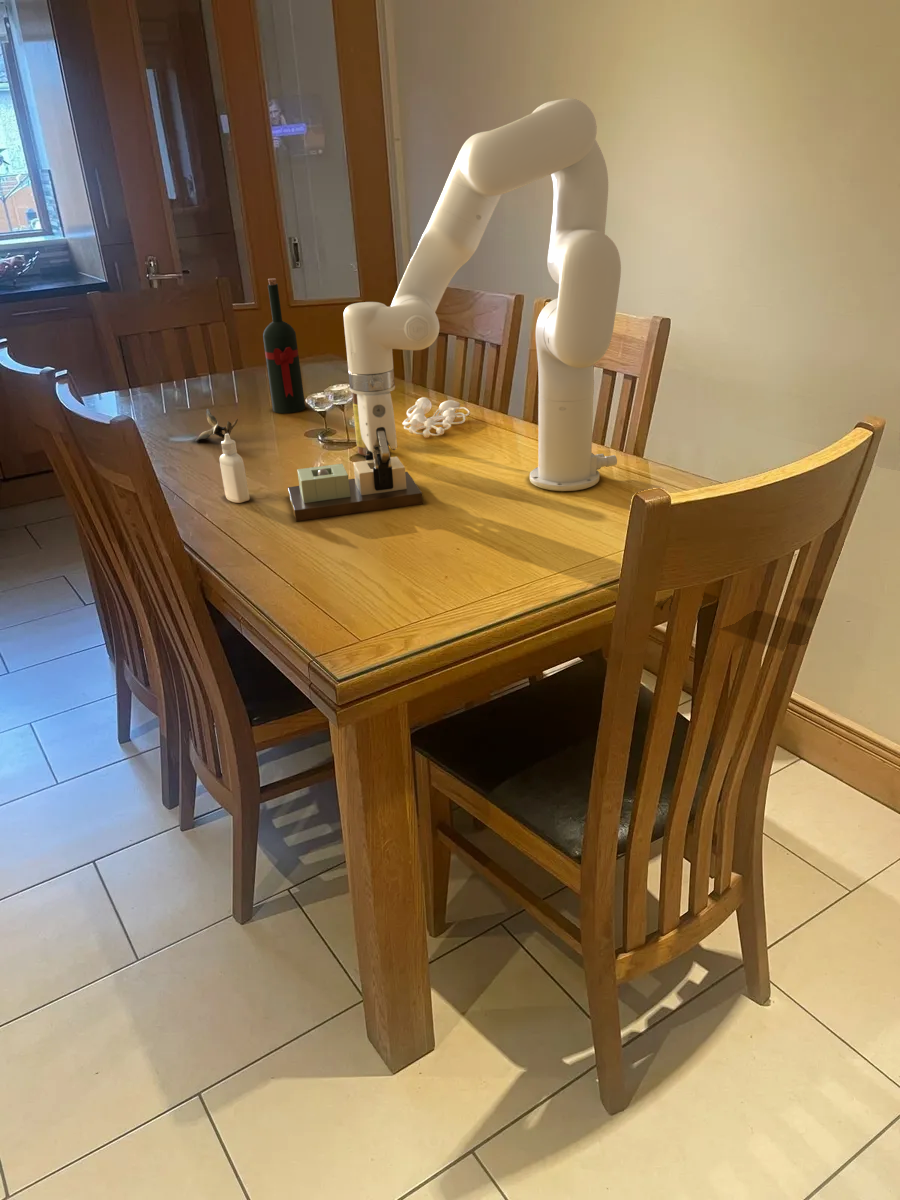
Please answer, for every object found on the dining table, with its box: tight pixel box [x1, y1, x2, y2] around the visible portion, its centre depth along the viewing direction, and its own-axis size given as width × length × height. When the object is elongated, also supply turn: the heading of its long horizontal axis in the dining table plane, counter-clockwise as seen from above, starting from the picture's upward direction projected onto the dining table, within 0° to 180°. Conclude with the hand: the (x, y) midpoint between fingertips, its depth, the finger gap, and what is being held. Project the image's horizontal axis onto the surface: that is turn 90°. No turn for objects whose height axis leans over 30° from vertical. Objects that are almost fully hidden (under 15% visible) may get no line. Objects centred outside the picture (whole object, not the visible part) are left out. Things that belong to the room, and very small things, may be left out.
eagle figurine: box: [194, 408, 239, 442], centre depth 188 cm, size 8×7×9 cm
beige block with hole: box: [352, 456, 406, 495], centre depth 152 cm, size 8×6×4 cm
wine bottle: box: [262, 277, 306, 414], centre depth 202 cm, size 8×10×30 cm
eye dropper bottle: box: [218, 433, 250, 504], centre depth 153 cm, size 4×6×12 cm
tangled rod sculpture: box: [402, 396, 471, 439], centre depth 190 cm, size 19×14×4 cm
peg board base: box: [287, 466, 424, 522], centre depth 151 cm, size 22×12×6 cm, turn 105°
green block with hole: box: [296, 463, 350, 503], centre depth 150 cm, size 8×6×4 cm
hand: (380, 481), depth 152 cm, fingers closed on beige block with hole, 6 cm apart
